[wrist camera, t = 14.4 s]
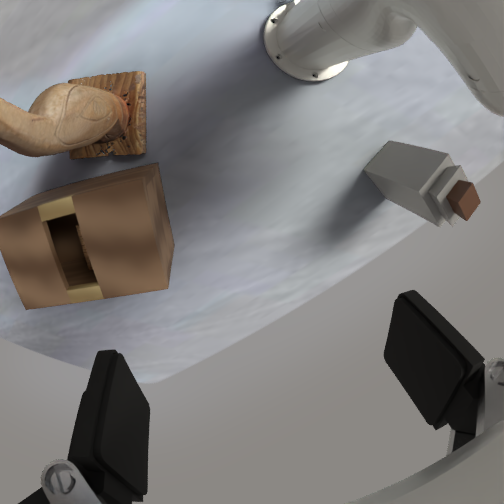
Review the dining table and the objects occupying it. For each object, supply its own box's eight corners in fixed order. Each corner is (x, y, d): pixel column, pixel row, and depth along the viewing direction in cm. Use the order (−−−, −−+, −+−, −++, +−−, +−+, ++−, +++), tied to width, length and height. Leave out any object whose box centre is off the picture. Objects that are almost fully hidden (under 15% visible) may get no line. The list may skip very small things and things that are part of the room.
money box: (34, 195, 35) (-9, 222, 24) (158, 162, 37) (142, 179, 26) (57, 267, 40) (25, 309, 29) (174, 245, 42) (168, 288, 32)
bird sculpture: (74, 163, 35) (-97, 284, 7) (68, 82, 30) (-124, 78, 2) (149, 151, 37) (33, 273, 9) (145, 67, 32) (19, -36, 3)
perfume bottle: (410, 170, 44) (491, 201, 28) (385, 198, 45) (462, 241, 29) (389, 140, 41) (474, 161, 25) (363, 169, 42) (443, 203, 26)
